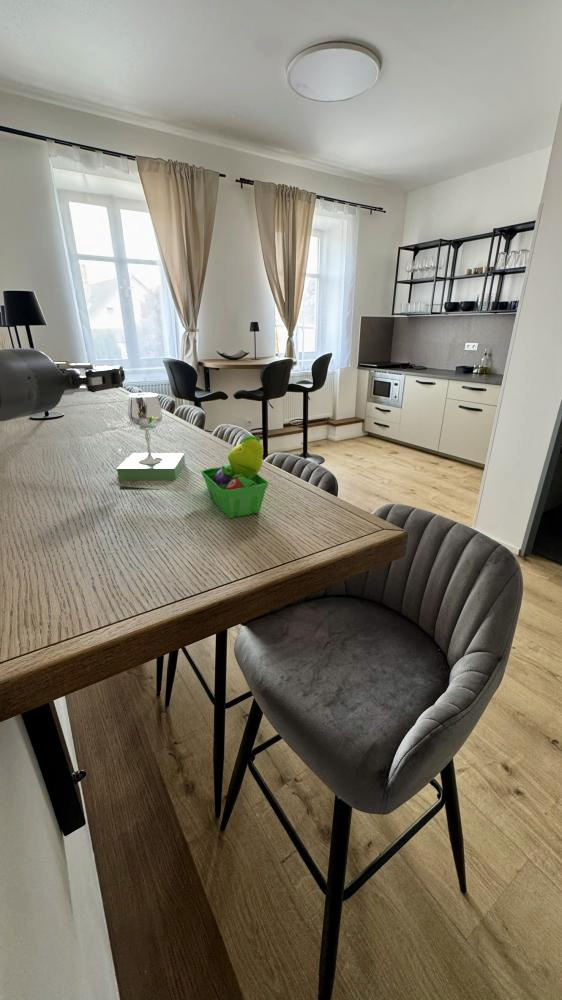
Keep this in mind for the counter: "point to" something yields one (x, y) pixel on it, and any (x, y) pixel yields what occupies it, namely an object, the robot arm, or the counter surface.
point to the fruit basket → (238, 480)
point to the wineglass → (145, 418)
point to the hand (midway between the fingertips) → (95, 372)
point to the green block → (151, 468)
